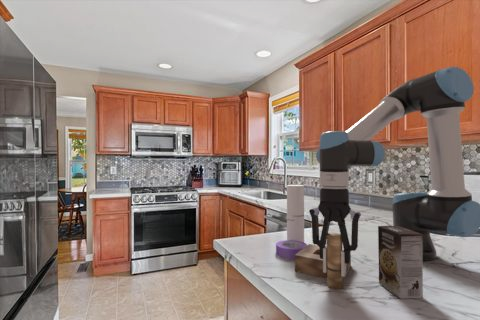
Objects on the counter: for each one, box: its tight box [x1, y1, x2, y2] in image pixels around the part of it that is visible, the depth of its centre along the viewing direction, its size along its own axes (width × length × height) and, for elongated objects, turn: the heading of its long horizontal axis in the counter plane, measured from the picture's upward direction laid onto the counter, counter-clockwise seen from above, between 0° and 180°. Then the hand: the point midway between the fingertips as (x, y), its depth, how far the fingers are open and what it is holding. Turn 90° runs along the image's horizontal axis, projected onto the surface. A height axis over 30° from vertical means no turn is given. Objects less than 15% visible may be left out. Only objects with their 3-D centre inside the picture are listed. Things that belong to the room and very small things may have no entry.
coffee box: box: [377, 225, 424, 300], centre depth 69 cm, size 9×6×16 cm
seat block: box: [294, 243, 352, 280], centre depth 84 cm, size 14×14×5 cm
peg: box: [326, 232, 344, 291], centre depth 72 cm, size 4×4×14 cm
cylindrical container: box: [286, 184, 305, 243], centre depth 110 cm, size 7×7×25 cm
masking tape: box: [275, 239, 308, 260], centre depth 98 cm, size 12×12×4 cm
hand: (334, 272), depth 71 cm, fingers closed on peg, 4 cm apart
